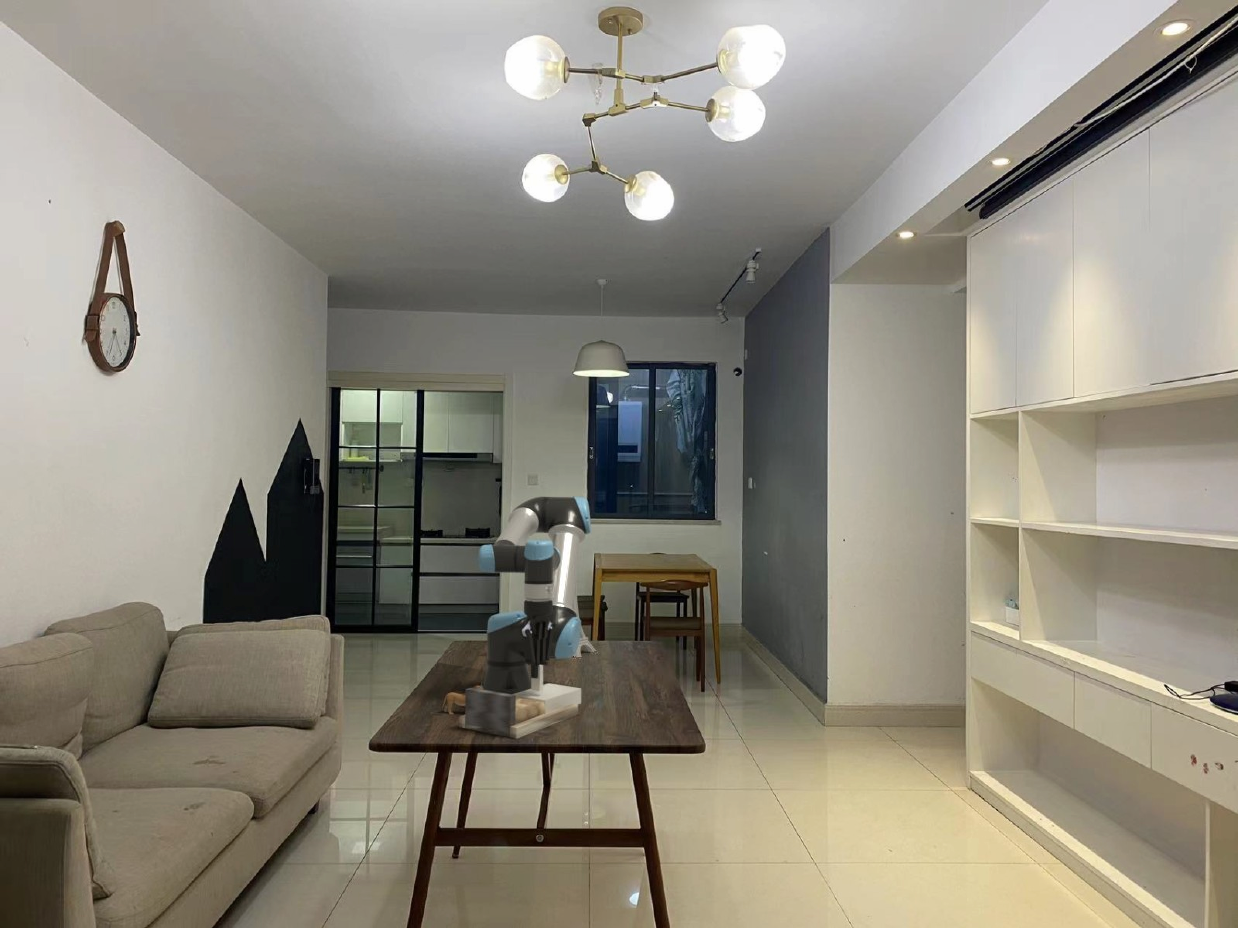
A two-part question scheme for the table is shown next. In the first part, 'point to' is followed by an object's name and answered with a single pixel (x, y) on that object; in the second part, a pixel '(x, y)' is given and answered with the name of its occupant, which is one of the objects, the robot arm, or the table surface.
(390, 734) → the table surface
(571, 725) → the table surface
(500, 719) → the track
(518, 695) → the slab
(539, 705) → the roller rear
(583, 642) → the eiffel tower
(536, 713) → the roller mid
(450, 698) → the lion figurine
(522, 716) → the roller front
